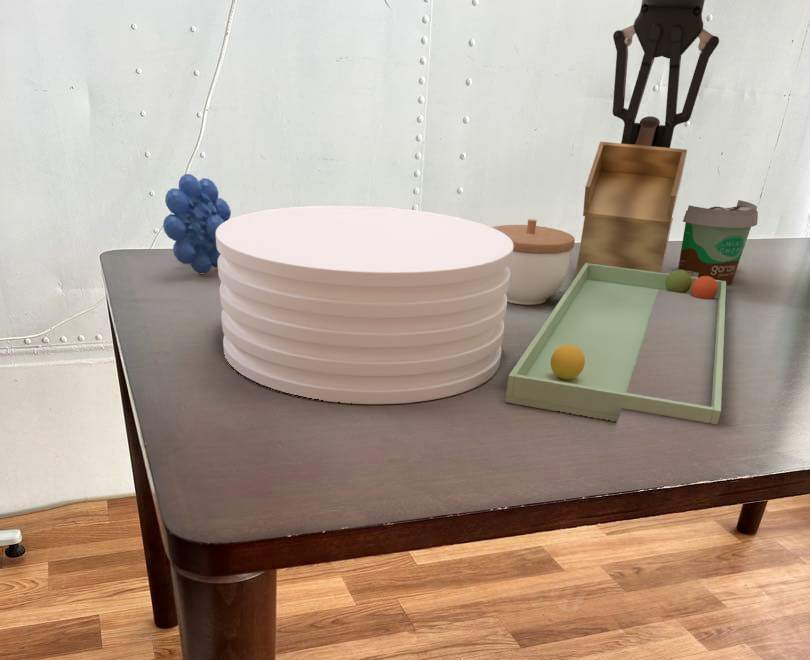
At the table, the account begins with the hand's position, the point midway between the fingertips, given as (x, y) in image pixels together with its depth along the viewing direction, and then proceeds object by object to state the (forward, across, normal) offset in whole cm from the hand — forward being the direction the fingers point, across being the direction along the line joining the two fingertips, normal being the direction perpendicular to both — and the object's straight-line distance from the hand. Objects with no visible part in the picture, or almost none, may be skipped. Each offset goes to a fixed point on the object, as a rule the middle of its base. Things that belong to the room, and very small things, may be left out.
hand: (639, 177), depth 113 cm
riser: (+12, 0, -5) cm, 13 cm away
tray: (+12, +5, -34) cm, 37 cm away
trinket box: (+13, -10, -23) cm, 28 cm away
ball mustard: (+10, 0, -50) cm, 51 cm away
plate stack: (+13, -21, -50) cm, 56 cm away
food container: (+13, +13, -1) cm, 18 cm away
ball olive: (+10, +8, -14) cm, 19 cm away
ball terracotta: (+10, +12, -15) cm, 22 cm away
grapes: (+13, -49, -33) cm, 60 cm away
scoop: (0, 0, -4) cm, 4 cm away
